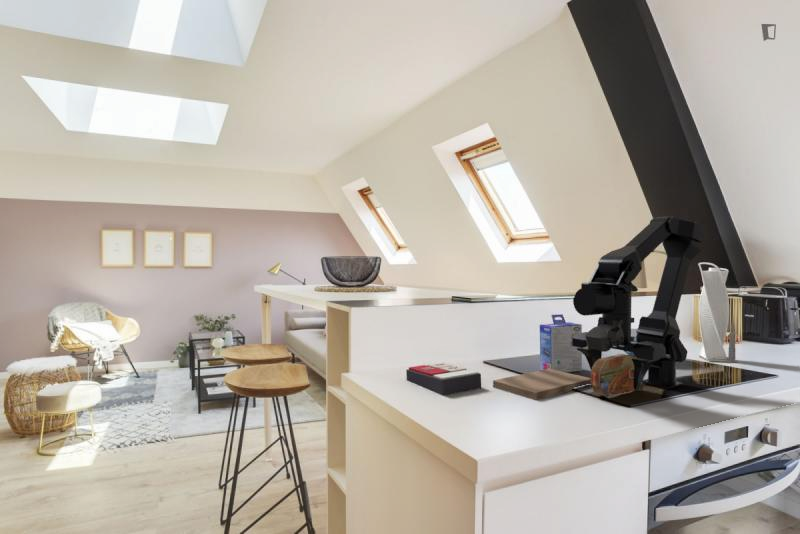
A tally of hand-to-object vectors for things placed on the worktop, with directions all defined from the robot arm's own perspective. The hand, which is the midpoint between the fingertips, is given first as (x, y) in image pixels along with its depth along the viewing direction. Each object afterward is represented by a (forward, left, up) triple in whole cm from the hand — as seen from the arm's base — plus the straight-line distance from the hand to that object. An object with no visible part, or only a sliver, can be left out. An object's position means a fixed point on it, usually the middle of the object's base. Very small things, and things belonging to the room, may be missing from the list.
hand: (615, 384), depth 106 cm
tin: (0, 0, -2) cm, 2 cm away
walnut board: (+8, -13, -2) cm, 15 cm away
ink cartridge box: (-8, -20, -2) cm, 22 cm away
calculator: (+26, -28, -3) cm, 38 cm away
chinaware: (-39, -15, -2) cm, 42 cm away
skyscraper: (-56, -3, -2) cm, 56 cm away
